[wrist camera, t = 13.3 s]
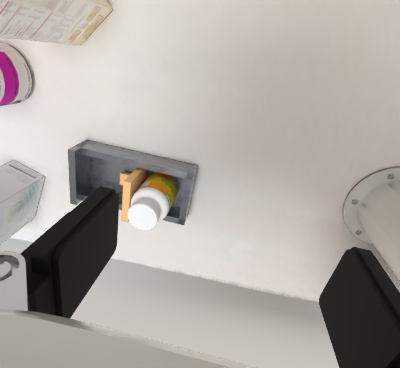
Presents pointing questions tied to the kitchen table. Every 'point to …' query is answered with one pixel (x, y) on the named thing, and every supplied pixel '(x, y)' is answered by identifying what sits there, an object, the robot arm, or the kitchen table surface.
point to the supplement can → (13, 76)
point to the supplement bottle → (152, 200)
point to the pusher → (130, 188)
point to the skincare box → (18, 197)
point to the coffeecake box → (51, 19)
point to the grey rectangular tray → (127, 162)
